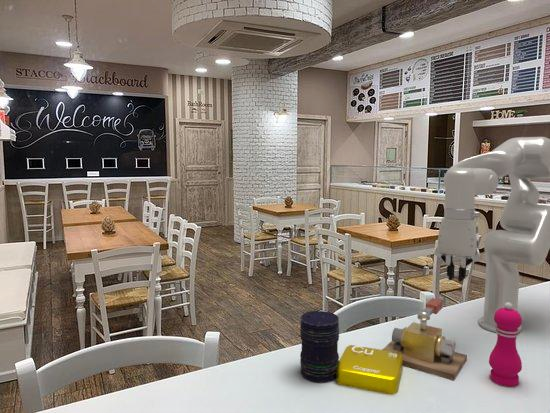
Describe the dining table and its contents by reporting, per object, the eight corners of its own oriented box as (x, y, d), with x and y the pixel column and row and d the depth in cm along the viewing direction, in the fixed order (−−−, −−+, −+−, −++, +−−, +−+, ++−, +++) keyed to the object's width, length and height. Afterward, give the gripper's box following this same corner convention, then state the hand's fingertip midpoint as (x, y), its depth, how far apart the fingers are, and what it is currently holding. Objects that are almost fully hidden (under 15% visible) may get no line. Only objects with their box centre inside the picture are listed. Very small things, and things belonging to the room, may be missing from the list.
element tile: (334, 385, 106) (334, 366, 106) (347, 358, 120) (347, 342, 120) (396, 397, 101) (397, 378, 100) (403, 368, 115) (403, 350, 114)
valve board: (395, 341, 129) (395, 337, 129) (466, 360, 117) (467, 355, 117) (378, 358, 119) (378, 353, 119) (454, 380, 107) (454, 374, 107)
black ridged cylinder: (342, 367, 114) (342, 313, 112) (334, 386, 105) (335, 327, 103) (305, 361, 118) (305, 309, 116) (295, 379, 108) (295, 322, 106)
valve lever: (427, 323, 115) (427, 314, 114) (415, 320, 117) (416, 312, 116) (442, 308, 126) (443, 300, 126) (431, 305, 128) (432, 298, 127)
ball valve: (398, 342, 126) (399, 309, 124) (456, 357, 116) (458, 321, 115) (389, 351, 120) (390, 316, 119) (449, 367, 111) (450, 330, 109)
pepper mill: (525, 389, 103) (530, 308, 100) (492, 386, 104) (497, 306, 102) (515, 374, 110) (519, 298, 108) (484, 371, 111) (488, 296, 109)
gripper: (493, 215, 116) (489, 281, 119) (433, 211, 126) (431, 272, 128) (487, 218, 110) (484, 288, 113) (425, 214, 120) (423, 278, 122)
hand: (456, 279), depth 120 cm, fingers closed
